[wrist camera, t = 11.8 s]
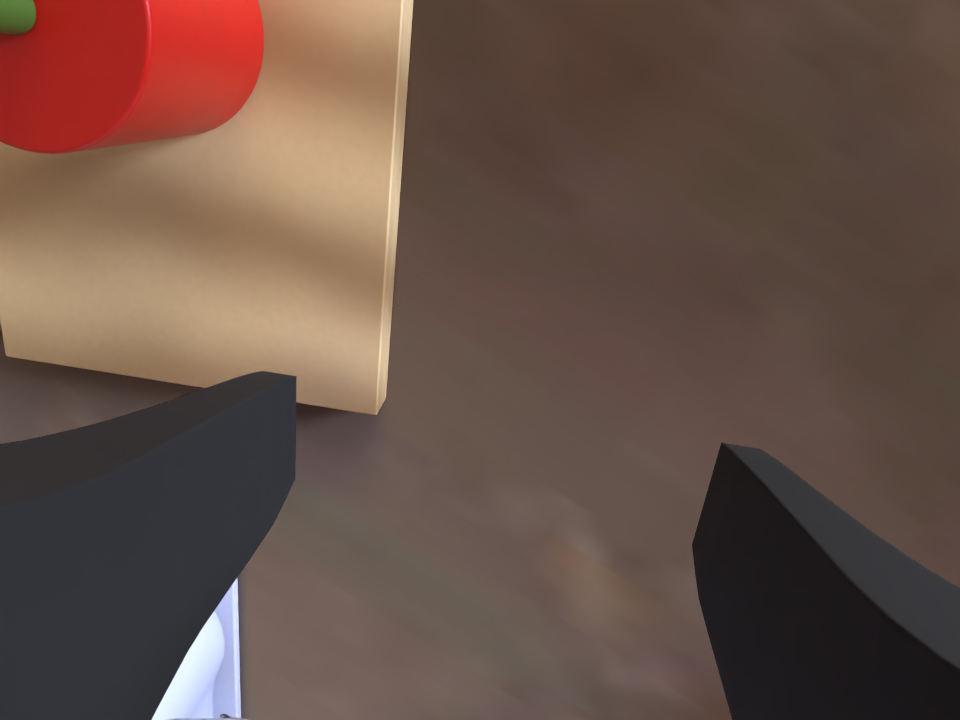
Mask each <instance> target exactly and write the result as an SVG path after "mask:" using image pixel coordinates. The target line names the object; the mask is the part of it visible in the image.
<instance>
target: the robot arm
mask: <svg viewBox="0 0 960 720" xmlns="http://www.w3.org/2000/svg"><path fill="white" fill-rule="evenodd" d="M296 382H297V376H292V375H286V374H279V373H273V372H267V371H259V372H254V373H250V374H246V375H243V376H239V377H236V378H233V379H230V380H227V381H224V382H221V383H219V384H216V385H213V386H210V387H207V388H204V389H202V390H199V391H196V392H193V393H190V394H187V395H185V396H182V397H179V398H176V399H173V400H171V401H168V402H165V403H162V404H158V405H155V406H152V407H149V408H146V409H143V410H139V411H136V412H133V413H130V414H127V415H123V416H120V417H117V418H114V419H111V420H107V421H104V422H100V423H97V424H93V425H89V426H85V427H81V428H77V429H73V430H69V431H65V432H60V433H56V434H51V435H47V436H42V437H38V438H33V439H28V440H23V441H17V442H11V443H5V444H0V720H249V719H244V718H241V695H240V657H239V618H238V580H237V577H238V576H239V574H240V573H241V571H242V570H243V568H244V567H245V566H246V564H247V563H248V561H249V560H250V558H251V557H252V555H253V554H254V552H255V551H256V549H257V548H258V546H259V545H260V543H261V542H262V540H263V539H264V537H265V536H266V534H267V533H268V531H269V530H270V528H271V527H272V525H273V523H274V522H275V520H276V518H277V516H278V514H279V512H280V510H281V508H282V506H283V504H284V501H285V499H286V497H287V495H288V493H289V491H290V489H291V486H292V484H293V482H294V480H295V457H296ZM692 547H693V556H694V565H695V574H696V582H697V589H698V596H699V601H700V604H701V608H702V612H703V616H704V620H705V623H706V627H707V631H708V634H709V638H710V642H711V645H712V649H713V652H714V656H715V659H716V663H717V667H718V670H719V674H720V677H721V681H722V684H723V688H724V692H725V695H726V699H727V702H728V706H729V709H730V713H731V716H732V720H960V588H959V587H957V586H955V585H954V584H952V583H950V582H949V581H947V580H945V579H944V578H942V577H940V576H938V575H937V574H935V573H933V572H932V571H930V570H928V569H927V568H925V567H924V566H922V565H921V564H919V563H918V562H916V561H914V560H913V559H911V558H910V557H908V556H907V555H905V554H904V553H902V552H901V551H899V550H898V549H897V548H895V547H894V546H892V545H891V544H889V543H888V542H886V541H885V540H883V539H882V538H881V537H879V536H878V535H876V534H875V533H873V532H872V531H870V530H869V529H868V528H866V527H865V526H864V525H862V524H861V523H859V522H858V521H857V520H855V519H854V518H853V517H851V516H850V515H849V514H847V513H846V512H845V511H843V510H842V509H841V508H839V507H838V506H837V505H835V504H834V503H833V502H831V501H830V500H829V499H827V498H826V497H825V496H824V495H822V494H821V493H820V492H818V491H817V490H816V489H815V488H813V487H812V486H811V485H809V484H808V483H807V482H806V481H804V480H803V479H802V478H800V477H799V476H798V475H796V474H795V473H794V472H793V471H791V470H790V469H789V468H787V467H786V466H785V465H783V464H782V463H780V462H779V461H778V460H776V459H775V458H773V457H772V456H770V455H769V454H767V453H766V452H764V451H762V450H760V449H757V448H751V447H745V446H738V445H732V444H725V443H721V446H720V450H719V453H718V457H717V460H716V464H715V467H714V471H713V474H712V477H711V481H710V484H709V488H708V491H707V495H706V498H705V502H704V505H703V509H702V512H701V516H700V519H699V523H698V526H697V530H696V533H695V537H694V540H693V544H692Z"/></svg>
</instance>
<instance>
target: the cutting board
mask: <svg viewBox="0 0 960 720" xmlns="http://www.w3.org/2000/svg"><path fill="white" fill-rule="evenodd" d="M258 3H259V7H260V11H261V16H262V22H263V32H264V49H263V59H262V65H261V70H260V73H259V76H258V79H257V82H256V84H255V87H254V89H253V91H252V93H251V95H250V96H249V98H248V99H247V101H246V103H245V104H244V105H243V106H242V108H241V109H240V110H239V111H238V112H237V113H236V114H235V115H234V116H233V117H232V118H231V119H229V120H228V121H227V122H225V123H224V124H222V125H220V126H219V127H217V128H215V129H212V130H210V131H207V132H204V133H200V134H196V135H189V136H183V137H176V138H169V139H162V140H155V141H148V142H141V143H135V144H128V145H121V146H114V147H107V148H100V149H93V150H86V151H80V152H73V153H63V154H43V153H35V152H30V151H25V150H21V149H18V148H15V147H12V146H9V145H6V144H4V143H2V142H0V324H1V330H2V336H3V342H4V348H5V354H6V356H7V357H13V358H19V359H26V360H32V361H38V362H44V363H51V364H57V365H63V366H70V367H76V368H82V369H88V370H95V371H101V372H107V373H113V374H120V375H126V376H132V377H139V378H145V379H151V380H157V381H164V382H170V383H176V384H182V385H189V386H195V387H201V388H207V387H210V386H213V385H216V384H219V383H221V382H224V381H227V380H230V379H233V378H236V377H239V376H243V375H246V374H250V373H254V372H259V371H267V372H273V373H279V374H286V375H292V376H297V382H296V403H302V404H308V405H314V406H320V407H327V408H333V409H339V410H345V411H352V412H358V413H364V414H371V415H377V413H378V411H379V410H380V408H381V406H382V404H383V403H384V401H385V399H386V388H387V374H388V359H389V345H390V330H391V316H392V301H393V287H394V272H395V258H396V244H397V229H398V215H399V200H400V186H401V171H402V157H403V143H404V128H405V114H406V99H407V85H408V70H409V56H410V42H411V27H412V13H413V0H258Z"/></svg>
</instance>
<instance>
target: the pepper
mask: <svg viewBox="0 0 960 720" xmlns="http://www.w3.org/2000/svg"><path fill="white" fill-rule="evenodd" d="M263 49H264V32H263V22H262V16H261V11H260V7H259V3H258V0H0V142H2V143H4V144H6V145H9V146H12V147H15V148H18V149H21V150H25V151H30V152H35V153H43V154H63V153H73V152H80V151H86V150H93V149H100V148H107V147H114V146H121V145H128V144H135V143H141V142H148V141H155V140H162V139H169V138H176V137H183V136H189V135H196V134H200V133H204V132H207V131H210V130H212V129H215V128H217V127H219V126H220V125H222V124H224V123H225V122H227V121H228V120H229V119H231V118H232V117H233V116H234V115H235V114H236V113H237V112H238V111H239V110H240V109H241V108H242V106H243V105H244V104H245V103H246V101H247V99H248V98H249V96H250V95H251V93H252V91H253V89H254V87H255V84H256V82H257V79H258V76H259V73H260V70H261V65H262V59H263Z"/></svg>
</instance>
